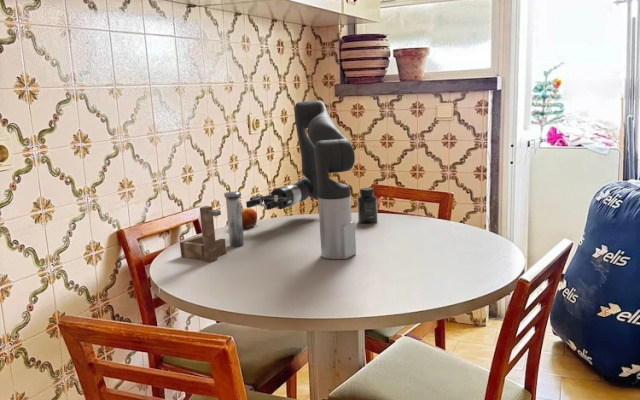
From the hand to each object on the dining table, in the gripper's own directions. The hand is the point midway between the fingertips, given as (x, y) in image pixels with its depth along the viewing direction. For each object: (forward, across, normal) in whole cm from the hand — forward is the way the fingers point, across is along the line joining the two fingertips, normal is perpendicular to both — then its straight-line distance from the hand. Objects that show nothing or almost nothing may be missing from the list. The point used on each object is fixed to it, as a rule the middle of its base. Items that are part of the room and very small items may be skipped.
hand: (256, 205), depth 187 cm
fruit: (-10, -14, +11) cm, 20 cm away
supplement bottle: (-32, +24, +11) cm, 41 cm away
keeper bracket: (+24, +1, +10) cm, 27 cm away
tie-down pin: (+12, 0, +10) cm, 16 cm away
